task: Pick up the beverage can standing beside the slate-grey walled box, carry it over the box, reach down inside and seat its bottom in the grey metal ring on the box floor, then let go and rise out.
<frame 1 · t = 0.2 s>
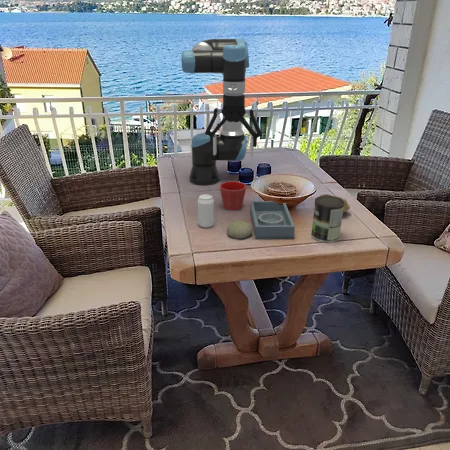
hand: (233, 154, 148), 27 cm above the table, tool pointing down, fingers open, 13 cm apart
inlet ring: (270, 220, 157), in the walled box, point 1 cm above the table
oil lamp: (331, 212, 169), on the table
walled box: (270, 224, 158), on the table
sea urchin shell: (239, 235, 151), on the table
beverage can: (206, 225, 157), on the table
coffee can: (325, 236, 149), on the table
flower pot: (232, 207, 174), on the table
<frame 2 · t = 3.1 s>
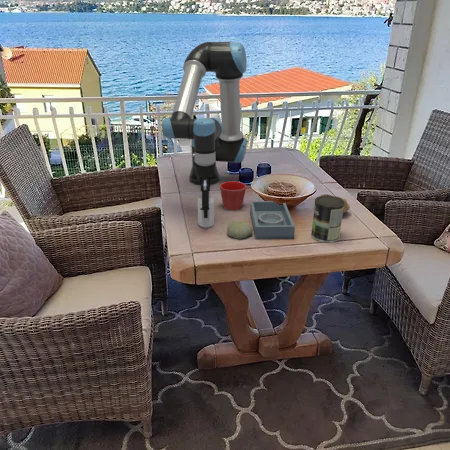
hand: (206, 220, 156), 2 cm above the table, tool pointing down, fingers closed on beverage can, 6 cm apart
beverage can: (206, 225, 157), on the table, touching gripper
everything else where it was.
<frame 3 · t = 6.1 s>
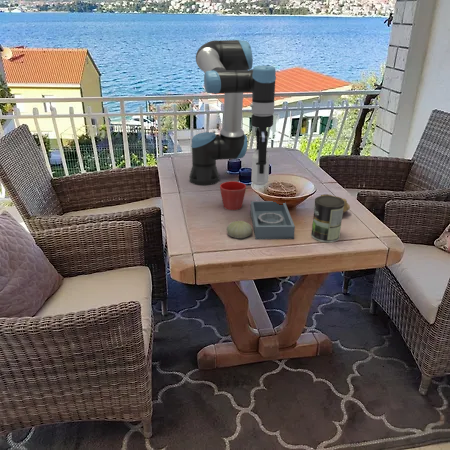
hand: (260, 178, 149), 19 cm above the table, tool pointing down, fingers closed on beverage can, 6 cm apart
beverage can: (259, 183, 150), point 17 cm above the table, touching gripper
everything else where it was.
when the fingers open (4 cm above the table, at t = 9.1 s): beverage can stays where it is, resting on walled box.
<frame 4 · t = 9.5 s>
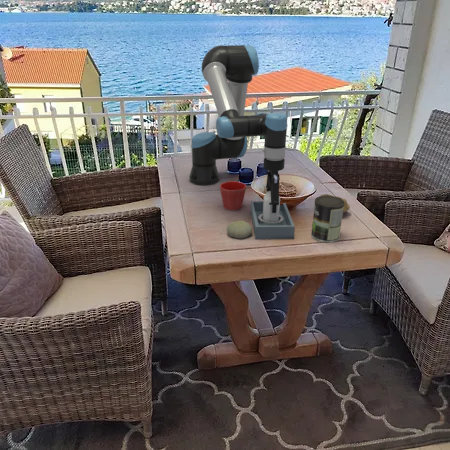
hand: (271, 213, 156), 5 cm above the table, tool pointing down, fingers open, 11 cm apart
beverage can: (270, 222, 158), point 1 cm above the table, touching walled box
everything else where it was.
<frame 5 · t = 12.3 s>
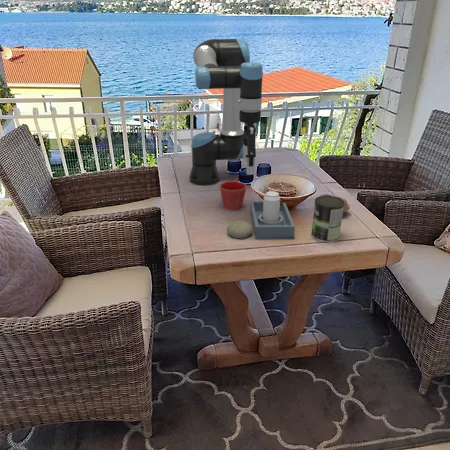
hand: (248, 168, 152), 22 cm above the table, tool pointing down, fingers open, 13 cm apart
nothing on the table moved.
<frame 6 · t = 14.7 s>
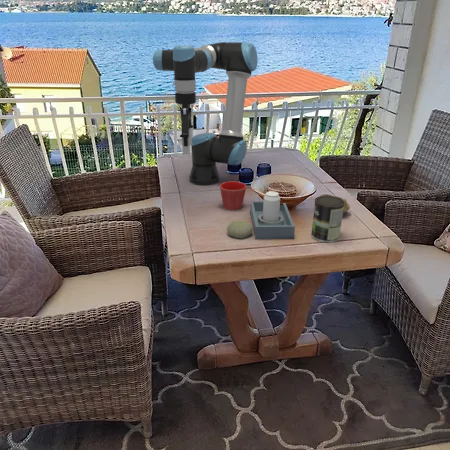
hand: (187, 149, 156), 27 cm above the table, tool pointing down, fingers open, 13 cm apart
nothing on the table moved.
at the end: beverage can 0.1 cm off-centre on the inlet ring, point 0.8 cm above the inlet ring's base; beverage can tilted 0°; the gripper is holding nothing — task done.
